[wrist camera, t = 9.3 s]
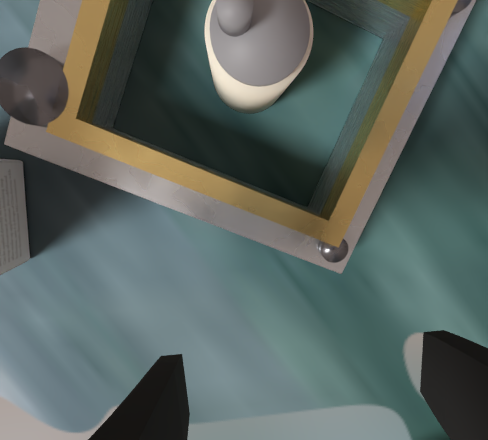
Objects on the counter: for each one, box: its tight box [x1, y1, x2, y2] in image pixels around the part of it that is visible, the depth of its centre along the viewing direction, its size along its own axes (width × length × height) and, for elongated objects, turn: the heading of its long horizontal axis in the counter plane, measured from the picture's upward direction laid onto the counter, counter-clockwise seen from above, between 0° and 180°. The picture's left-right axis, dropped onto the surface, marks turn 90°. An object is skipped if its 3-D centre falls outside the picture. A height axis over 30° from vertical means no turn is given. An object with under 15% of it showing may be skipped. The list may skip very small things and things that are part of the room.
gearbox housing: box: [0, 0, 476, 274], centre depth 14 cm, size 18×15×4 cm
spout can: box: [205, 0, 313, 114], centre depth 13 cm, size 4×4×7 cm
